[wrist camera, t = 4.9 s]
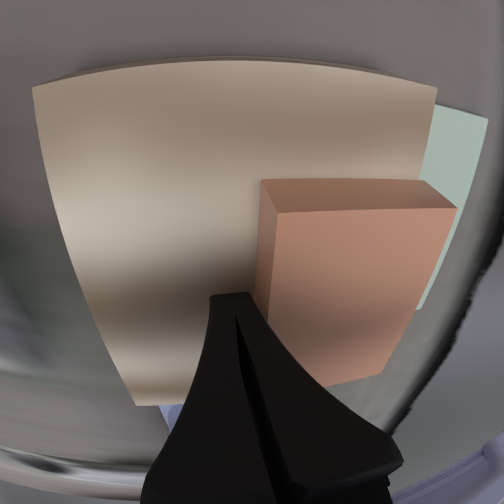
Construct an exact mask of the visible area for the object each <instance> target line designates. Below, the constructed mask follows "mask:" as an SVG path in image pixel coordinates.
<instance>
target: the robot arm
mask: <svg viewBox="0 0 504 504" xmlns="http://www.w3.org/2000/svg"><path fill="white" fill-rule="evenodd" d="M209 303H210V306H209V318H208V325H207V330H206V335H205V340H204V345H203V349H202V352H201V356H200V359H199V363H198V366H197V370H196V373H195V376H194V379H193V382H192V385H191V387H190V390H189V393H188V395H187V398H186V400H185V403H184V404H172V405H158V406H159V408H160V410H161V412H162V414H163V417H164V419H165V421H166V423H167V425H168V427H169V437H168V439H167V441H166V443H165V444H164V446H163V448H162V450H161V452H160V453H159V455H158V457H157V458H156V460H155V462H154V463H153V465H152V467H151V468H150V470H149V472H148V473H147V475H146V477H145V481H144V485H143V488H142V493H141V498H140V504H499V503H500V502H501V501H502V500H503V499H504V431H502V432H501V433H499V434H498V435H496V437H494V438H492V439H491V440H490V441H488V442H487V443H485V444H484V445H483V446H482V447H481V448H479V449H478V450H476V451H474V452H473V453H471V454H469V455H468V456H466V457H464V458H463V459H461V460H459V461H458V462H456V463H454V464H452V465H450V466H449V467H447V468H445V469H443V470H441V471H439V472H437V473H435V474H433V475H432V476H430V477H427V478H425V479H424V480H421V481H419V482H417V483H415V484H413V485H411V486H408V487H406V488H404V489H402V490H399V491H397V492H395V493H392V494H390V493H389V490H388V488H387V487H388V486H390V482H389V479H388V475H389V474H391V473H392V472H394V471H395V470H397V469H398V468H399V467H401V466H402V464H403V462H404V460H403V458H402V455H401V453H400V450H399V449H398V447H397V445H396V443H395V442H394V440H393V438H392V437H391V435H389V434H387V433H386V432H384V431H382V430H381V429H379V428H377V427H376V426H374V425H372V424H371V423H369V422H368V421H366V420H365V419H363V418H362V417H360V416H359V415H357V414H356V413H355V412H353V411H352V410H350V409H349V408H348V407H347V406H345V405H344V404H343V403H342V402H340V401H339V400H338V399H337V398H335V397H334V396H333V395H332V394H330V393H329V392H328V391H327V390H326V389H325V388H323V387H322V386H321V385H320V384H319V383H318V382H317V381H316V380H315V379H314V378H313V377H312V376H311V375H310V374H309V373H308V372H307V371H306V370H305V369H304V368H303V367H302V366H301V365H300V364H299V363H298V361H297V360H296V359H295V358H294V357H293V356H292V355H291V353H290V352H289V351H288V350H287V349H286V347H285V346H284V345H283V344H282V342H281V341H280V340H279V338H278V337H277V336H276V334H275V333H274V332H273V330H272V329H271V327H270V326H269V324H268V323H267V322H266V320H265V318H264V317H263V315H262V314H261V312H260V311H259V309H258V307H257V305H256V304H255V302H254V300H253V298H252V296H251V294H250V293H249V292H237V293H227V294H216V295H212V296H210V297H209Z"/></svg>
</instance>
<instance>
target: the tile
mask: <svg viewBox="0 0 504 504" xmlns="http://www.w3.org/2000/svg"><path fill="white" fill-rule="evenodd" d="M457 210H458V208H457V207H456V206H455V205H454V204H453V203H451V202H450V201H449V200H448V199H447V198H445V197H444V196H443V195H442V194H441V193H439V192H438V191H437V190H436V189H434V188H433V187H432V186H431V185H429V184H428V183H427V182H425V181H424V180H402V179H369V178H291V179H261V187H260V205H259V223H258V241H257V259H256V277H255V294H254V302H255V304H256V305H257V307H258V309H259V311H260V312H261V314H262V315H263V317H264V318H265V320H266V322H267V323H268V324H269V326H270V327H271V329H272V330H273V332H274V333H275V334H276V336H277V337H278V338H279V340H280V341H281V342H282V344H283V345H284V346H285V347H286V349H287V350H288V351H289V352H290V353H291V355H292V356H293V357H294V358H295V359H296V360H297V361H298V363H299V364H300V365H301V366H302V367H303V368H304V369H305V370H306V371H307V372H308V373H309V374H310V375H311V376H312V377H313V378H314V379H315V380H316V381H317V382H318V383H319V384H320V385H321V386H322V387H327V386H331V385H336V384H340V383H345V382H349V381H353V380H357V379H361V378H365V377H369V376H373V375H376V374H380V373H381V372H382V370H383V368H384V367H385V365H386V363H387V361H388V360H389V358H390V356H391V355H392V353H393V351H394V349H395V347H396V346H397V344H398V342H399V340H400V338H401V337H402V335H403V333H404V331H405V329H406V327H407V325H408V323H409V321H410V319H411V318H412V316H413V314H414V312H415V310H416V308H417V306H418V304H419V301H420V299H421V297H422V295H423V293H424V291H425V289H426V287H427V284H428V282H429V280H430V278H431V276H432V273H433V271H434V269H435V266H436V264H437V262H438V259H439V257H440V255H441V252H442V250H443V247H444V245H445V242H446V240H447V237H448V234H449V232H450V229H451V227H452V224H453V221H454V218H455V215H456V213H457Z"/></svg>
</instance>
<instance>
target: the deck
mask: <svg viewBox="0 0 504 504" xmlns="http://www.w3.org/2000/svg"><path fill="white" fill-rule="evenodd" d="M32 91H33V99H34V107H35V114H36V121H37V128H38V134H39V139H40V145H41V150H42V155H43V160H44V165H45V169H46V174H47V178H48V182H49V187H50V191H51V195H52V198H53V202H54V206H55V210H56V213H57V217H58V220H59V224H60V227H61V231H62V234H63V237H64V240H65V243H66V246H67V250H68V253H69V256H70V258H71V261H72V264H73V267H74V270H75V273H76V276H77V278H78V281H79V284H80V286H81V289H82V291H83V294H84V297H85V299H86V302H87V304H88V307H89V309H90V311H91V314H92V316H93V319H94V321H95V323H96V326H97V328H98V330H99V332H100V335H101V337H102V339H103V341H104V343H105V346H106V348H107V350H108V352H109V354H110V356H111V358H112V360H113V362H114V364H115V366H116V368H117V370H118V372H119V374H120V376H121V378H122V380H123V382H124V384H125V386H126V388H127V389H128V391H129V393H130V395H131V397H132V399H133V400H134V402H135V404H136V406H150V405H172V404H184V403H185V400H186V398H187V395H188V393H189V390H190V387H191V385H192V382H193V379H194V376H195V373H196V370H197V366H198V363H199V359H200V356H201V352H202V349H203V345H204V340H205V335H206V330H207V325H208V318H209V306H210V303H209V297H210V296H212V295H216V294H227V293H237V292H249V293H250V294H251V296H252V298H253V300H254V294H255V277H256V259H257V241H258V223H259V205H260V187H261V179H291V178H369V179H402V180H418V179H419V175H420V171H421V167H422V163H423V159H424V155H425V150H426V146H427V142H428V137H429V132H430V127H431V122H432V117H433V112H434V106H435V101H436V95H437V88H436V87H433V86H430V85H427V84H424V83H421V82H418V81H415V80H412V79H408V78H405V77H401V76H398V75H394V74H391V73H387V72H383V71H379V70H375V69H370V68H364V67H358V66H352V65H345V64H338V63H331V62H323V61H314V60H304V59H293V58H279V57H258V56H204V57H183V58H169V59H158V60H148V61H139V62H131V63H124V64H117V65H111V66H105V67H99V68H94V69H88V70H83V71H78V72H75V73H72V74H68V75H65V76H62V77H59V78H56V79H53V80H51V81H48V82H45V83H42V84H40V85H37V86H34V87H32Z"/></svg>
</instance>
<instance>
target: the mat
mask: <svg viewBox="0 0 504 504" xmlns="http://www.w3.org/2000/svg"><path fill="white" fill-rule="evenodd" d="M487 123H488V119H487V118H485V117H483V116H480V115H476V114H473V113H470V112H466V111H463V110H459V109H455V108H452V107H448V106H444V105H440V104H436V103H435V106H434V112H433V117H432V122H431V127H430V132H429V137H428V142H427V146H426V150H425V155H424V159H423V163H422V167H421V171H420V175H419V179H418V180H424V181H425V182H427V183H428V184H429V185H431V186H432V187H433V188H434V189H436V190H437V191H438V192H439V193H441V194H442V195H443V196H444V197H445V198H447V199H448V200H449V201H450V202H451V203H453V204H454V205H455V206H456V207H457V208H458V210H457V213H456V215H455V218H454V221H453V224H452V227H451V229H450V232H449V234H448V237H447V240H446V242H445V245H444V247H443V250H442V252H441V255H440V257H439V259H438V262H437V264H436V266H435V269H434V271H433V273H432V276H431V278H430V280H429V282H428V284H427V287H426V289H425V291H424V293H423V295H422V297H421V299H420V301H419V304H418V306H417V308H416V310H418V309H421V307H422V305H423V303H424V301H425V299H426V297H427V295H428V293H429V291H430V288H431V286H432V284H433V282H434V280H435V278H436V275H437V273H438V271H439V269H440V266H441V264H442V262H443V259H444V257H445V255H446V252H447V250H448V247H449V245H450V243H451V240H452V237H453V235H454V232H455V230H456V227H457V224H458V222H459V219H460V216H461V213H462V211H463V208H464V205H465V202H466V199H467V196H468V193H469V190H470V187H471V184H472V180H473V177H474V174H475V170H476V167H477V163H478V160H479V156H480V152H481V148H482V145H483V141H484V136H485V132H486V128H487Z"/></svg>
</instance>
